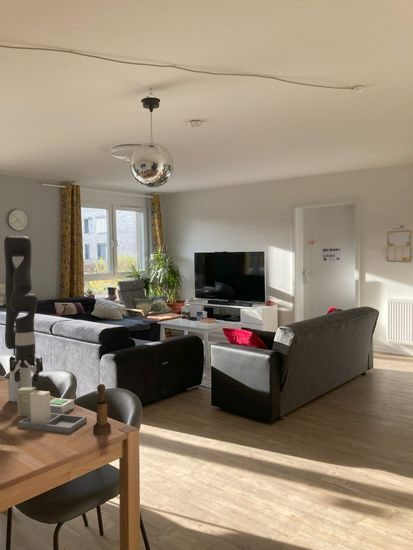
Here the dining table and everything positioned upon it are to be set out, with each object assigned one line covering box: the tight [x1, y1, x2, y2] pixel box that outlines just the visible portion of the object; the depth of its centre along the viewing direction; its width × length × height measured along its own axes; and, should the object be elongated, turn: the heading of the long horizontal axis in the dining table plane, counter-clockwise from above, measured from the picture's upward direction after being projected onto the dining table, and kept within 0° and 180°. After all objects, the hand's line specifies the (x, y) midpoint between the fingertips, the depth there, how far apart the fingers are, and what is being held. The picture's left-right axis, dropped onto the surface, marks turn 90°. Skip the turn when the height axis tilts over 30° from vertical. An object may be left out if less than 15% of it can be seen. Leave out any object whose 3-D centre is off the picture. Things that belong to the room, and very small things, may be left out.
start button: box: [50, 399, 67, 405], centre depth 191 cm, size 5×5×3 cm
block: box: [30, 390, 51, 424], centre depth 177 cm, size 6×4×12 cm, turn 74°
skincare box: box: [16, 386, 37, 417], centre depth 187 cm, size 6×4×12 cm
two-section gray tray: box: [17, 413, 88, 434], centre depth 175 cm, size 22×12×4 cm, turn 74°
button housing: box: [50, 397, 75, 414], centre depth 191 cm, size 9×9×5 cm
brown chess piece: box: [92, 383, 112, 436], centre depth 171 cm, size 7×6×18 cm
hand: (26, 382), depth 186 cm, fingers open, 8 cm apart
